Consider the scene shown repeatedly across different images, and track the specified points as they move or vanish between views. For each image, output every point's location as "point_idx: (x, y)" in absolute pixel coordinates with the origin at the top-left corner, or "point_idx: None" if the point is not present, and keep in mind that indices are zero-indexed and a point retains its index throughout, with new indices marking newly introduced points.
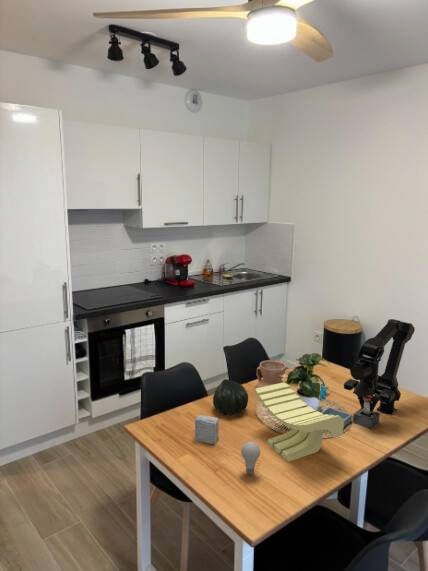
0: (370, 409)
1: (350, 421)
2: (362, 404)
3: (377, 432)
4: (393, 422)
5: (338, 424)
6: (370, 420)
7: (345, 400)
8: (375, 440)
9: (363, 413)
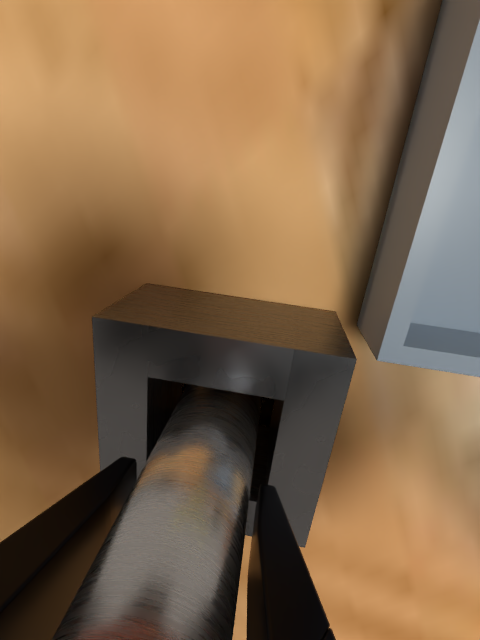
0: (133, 488)
1: (365, 307)
2: (257, 552)
3: (88, 264)
4: (71, 480)
5: None
6: (122, 317)
7: (475, 634)
8: (32, 79)
9: (239, 420)
